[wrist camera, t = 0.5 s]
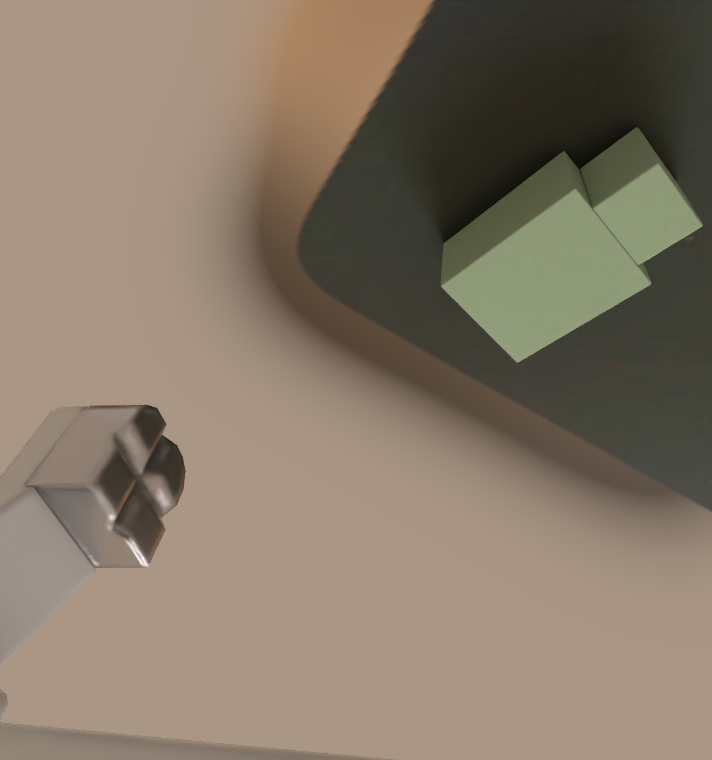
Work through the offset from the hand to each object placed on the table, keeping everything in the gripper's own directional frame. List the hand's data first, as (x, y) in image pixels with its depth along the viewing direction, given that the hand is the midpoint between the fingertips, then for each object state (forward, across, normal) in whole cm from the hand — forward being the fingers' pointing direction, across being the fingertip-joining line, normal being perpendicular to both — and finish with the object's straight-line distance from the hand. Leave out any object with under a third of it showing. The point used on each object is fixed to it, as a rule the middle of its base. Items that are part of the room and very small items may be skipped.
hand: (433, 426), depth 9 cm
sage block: (+18, -4, +6) cm, 20 cm away
